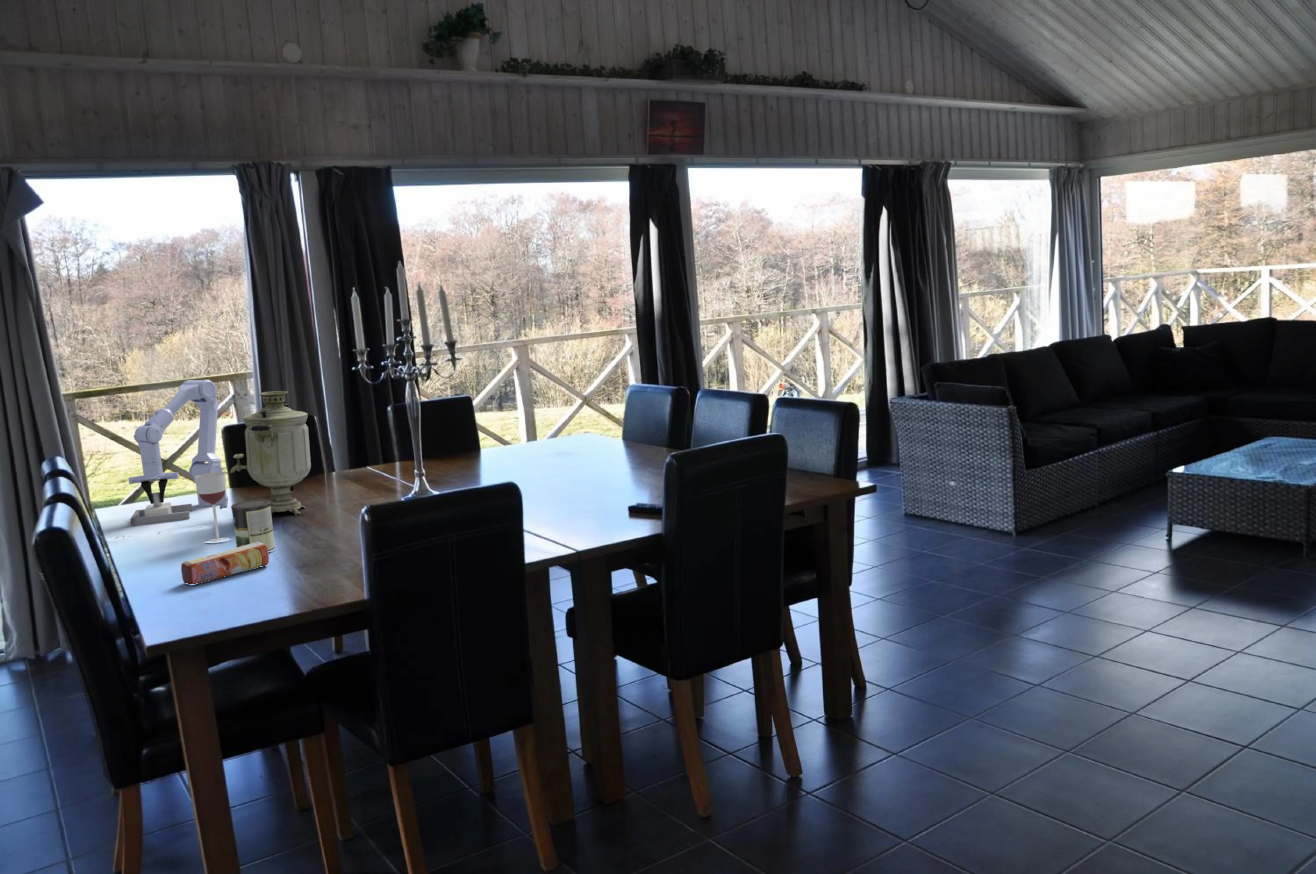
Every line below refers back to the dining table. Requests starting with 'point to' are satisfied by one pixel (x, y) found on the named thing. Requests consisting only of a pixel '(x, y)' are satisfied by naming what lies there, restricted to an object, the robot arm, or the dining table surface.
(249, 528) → the coffee can
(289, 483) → the samovar
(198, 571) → the snack package
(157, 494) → the peg on square base
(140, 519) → the bay
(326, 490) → the dining table surface
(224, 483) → the wineglass
